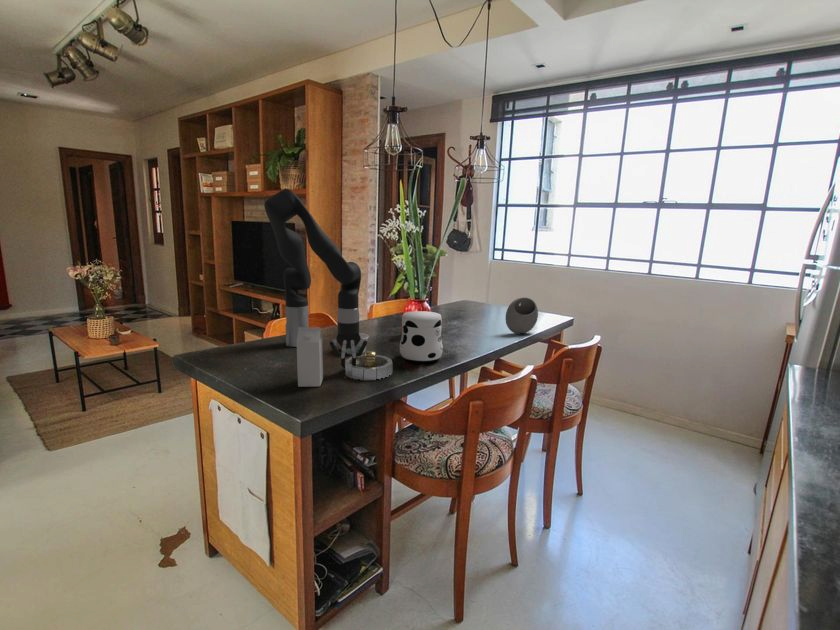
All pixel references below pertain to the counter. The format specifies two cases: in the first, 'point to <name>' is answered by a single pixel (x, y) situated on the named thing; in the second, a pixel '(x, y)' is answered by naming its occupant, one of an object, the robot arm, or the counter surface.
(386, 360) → the steel ring
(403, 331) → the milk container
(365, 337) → the food container
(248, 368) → the counter surface
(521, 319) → the planter
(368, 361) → the brass door knob
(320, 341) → the milk carton
